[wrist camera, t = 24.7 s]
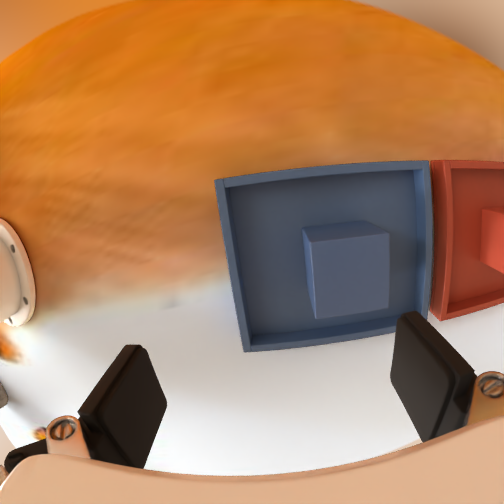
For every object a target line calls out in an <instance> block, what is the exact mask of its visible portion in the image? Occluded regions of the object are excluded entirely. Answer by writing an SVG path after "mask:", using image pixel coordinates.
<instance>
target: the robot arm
mask: <svg viewBox="0 0 504 504" xmlns="http://www.w3.org/2000/svg"><path fill="white" fill-rule="evenodd" d="M35 300H36V297H35V284H34V277H33V273H32V269H31V265H30V262H29V259H28V256H27V253H26V251H25V249H24V246H23V244H22V242H21V241H20V239H19V237H18V235H17V234H16V232H15V231H14V229H13V228H12V227H11V226H10V225H9V224H8V223H7V222H6V221H4V220H3V219H1V218H0V323H1V322H5V323H7V324H9V325H11V326H14V327H16V326H21V325H23V324H25V323H26V322H27V321H29V320H30V318H31V317H32V315H33V312H34V309H35ZM474 371H475V370H474V369H473V368H472V367H471V366H470V365H469V364H468V363H467V362H466V360H465V359H464V358H463V357H462V356H461V355H460V354H459V353H458V352H457V351H456V350H455V349H454V348H453V347H452V346H451V344H450V343H449V342H448V341H447V340H446V339H445V338H444V337H443V336H442V335H441V334H440V333H439V332H438V331H437V330H436V329H435V328H434V327H433V326H432V325H431V324H430V323H429V322H428V321H427V320H426V319H425V318H424V317H423V316H422V315H421V314H420V313H419V312H418V311H411V312H406V313H403V314H402V315H401V317H400V318H398V319H397V324H396V334H395V344H394V352H393V360H392V367H391V374H390V378H391V382H392V385H393V386H394V388H395V390H396V392H397V394H398V396H399V398H400V399H401V401H402V403H403V405H404V407H405V409H406V411H407V413H408V415H409V416H410V418H411V420H412V422H413V424H414V426H415V428H416V430H417V432H418V434H419V436H420V438H421V440H422V442H423V443H420V444H417V445H414V446H412V447H408V448H405V449H402V450H399V451H396V452H392V453H389V454H385V455H382V456H378V457H375V458H371V459H367V460H363V461H358V462H354V463H349V464H344V465H339V466H334V467H328V468H322V469H316V470H309V471H302V472H293V473H283V474H271V475H253V476H210V475H191V474H179V473H169V472H160V471H153V470H146V469H143V468H144V466H145V463H146V461H147V458H148V455H149V452H150V450H151V447H152V444H153V442H154V439H155V437H156V434H157V431H158V429H159V426H160V423H161V421H162V418H163V416H164V413H165V410H166V408H167V400H166V398H165V395H164V393H163V391H162V388H161V386H160V383H159V381H158V379H157V376H156V374H155V371H154V368H153V366H152V363H151V361H150V358H149V355H148V352H147V350H146V349H145V348H143V347H142V346H141V345H126V346H124V348H123V349H122V350H121V352H120V353H119V354H118V356H117V357H116V359H115V360H114V361H113V363H112V364H111V365H110V367H109V368H108V369H107V371H106V372H105V374H104V375H103V376H102V378H101V379H100V380H99V382H98V383H97V385H96V386H95V387H94V389H93V390H92V392H91V393H90V394H89V396H88V397H87V399H86V400H85V402H84V403H83V404H82V406H81V407H80V409H79V410H78V413H79V415H80V417H79V419H77V418H75V417H73V416H61V417H58V418H56V419H54V420H53V421H52V422H51V423H50V424H49V425H48V427H47V429H46V439H43V440H40V441H37V442H34V443H32V444H29V445H26V446H23V447H20V448H17V449H15V450H12V451H11V452H9V454H8V455H7V457H6V459H5V462H4V466H5V467H3V466H2V465H0V504H504V374H502V373H500V372H496V371H488V372H484V373H482V374H481V375H479V376H478V377H477V376H476V375H475V373H474Z"/></svg>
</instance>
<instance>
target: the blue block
mask: <svg viewBox="0 0 504 504" xmlns="http://www.w3.org/2000/svg"><path fill="white" fill-rule="evenodd" d="M302 237H303V246H304V257H305V267H306V279H307V290H308V293H309V297H310V301H311V304H312V308H313V312H314V315H315V318H316V319H321V318H328V317H335V316H342V315H349V314H355V313H362V312H368V311H374V310H380V309H385V308H389V289H390V237H389V233H388V232H386V231H384V230H382V229H380V228H379V227H377V226H375V225H373V224H371V223H369V222H367V221H365V220H364V221H355V222H346V223H337V224H328V225H319V226H310V227H303V228H302Z"/></svg>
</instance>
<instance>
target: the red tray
mask: <svg viewBox="0 0 504 504" xmlns="http://www.w3.org/2000/svg"><path fill="white" fill-rule="evenodd" d="M431 171H432V182H433V198H434V267H433V283H432V294H431V304H430V312H431V313H432V314H433V315H434V316H435V317H436V318H437V319H438V320H439V321H444V320H448V319H452V318H455V317H459V316H462V315H466V314H469V313H473V312H476V311H479V310H483V309H486V308H489V307H492V306H495V305H498V304H501V303H504V274H503V273H501V272H499V271H497V270H496V269H494V268H492V267H490V266H488V265H486V264H484V263H482V262H480V250H481V228H482V208H494V207H504V162H492V161H469V160H435V161H431Z"/></svg>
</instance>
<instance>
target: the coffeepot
mask: <svg viewBox="0 0 504 504" xmlns="http://www.w3.org/2000/svg"><path fill="white" fill-rule="evenodd" d="M7 402H8V396H7V394H6V391H5V389H4V388H3V386H2V384H1V383H0V408H2V407H4V406H5V405H7Z"/></svg>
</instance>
